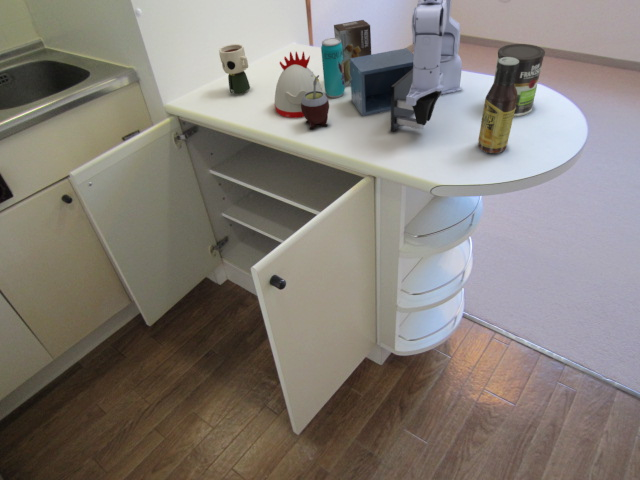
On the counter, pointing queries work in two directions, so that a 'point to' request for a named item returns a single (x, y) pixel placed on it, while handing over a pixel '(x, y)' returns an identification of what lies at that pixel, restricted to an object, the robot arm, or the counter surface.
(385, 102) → the blue-gray cabinet body
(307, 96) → the mate gourd
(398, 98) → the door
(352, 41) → the coffee box
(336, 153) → the counter surface
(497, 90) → the sauce bottle
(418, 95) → the robot arm
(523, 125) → the counter surface
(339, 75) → the beverage can
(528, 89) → the coffee can
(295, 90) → the white chicken figure
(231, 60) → the character mug
